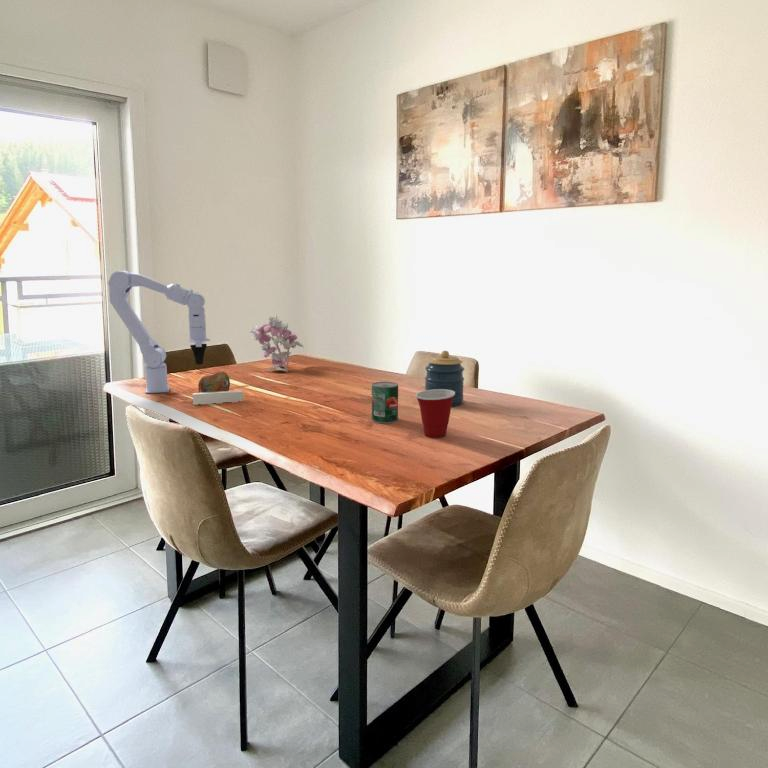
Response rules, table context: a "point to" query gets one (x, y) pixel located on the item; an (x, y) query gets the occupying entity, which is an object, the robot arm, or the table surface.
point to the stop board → (217, 397)
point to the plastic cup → (435, 411)
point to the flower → (275, 341)
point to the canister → (446, 375)
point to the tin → (214, 383)
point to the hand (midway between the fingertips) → (199, 364)
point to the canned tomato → (384, 402)
